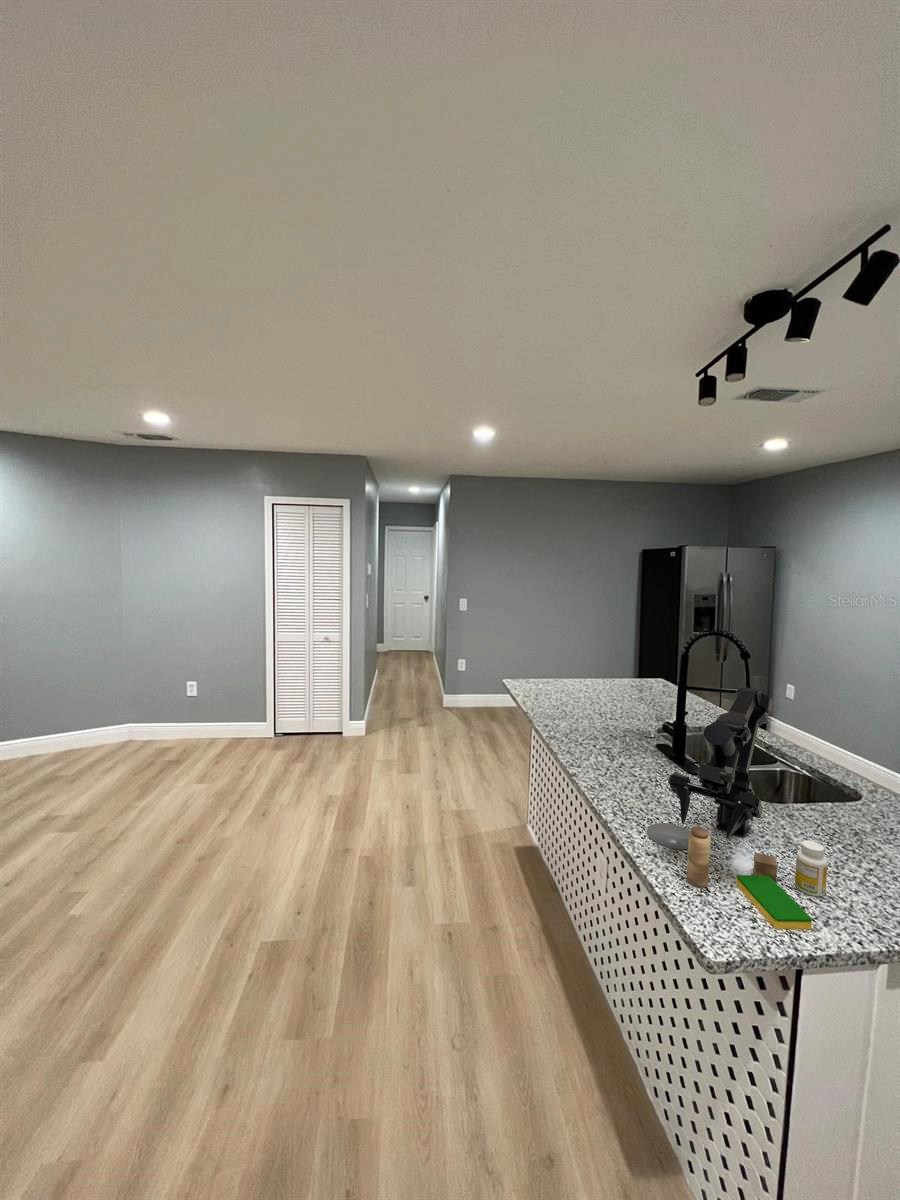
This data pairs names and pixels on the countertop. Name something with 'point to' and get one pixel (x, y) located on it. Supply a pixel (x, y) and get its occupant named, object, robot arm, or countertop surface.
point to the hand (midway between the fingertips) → (704, 829)
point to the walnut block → (765, 866)
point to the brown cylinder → (698, 857)
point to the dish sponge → (773, 902)
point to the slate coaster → (669, 835)
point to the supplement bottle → (811, 869)
